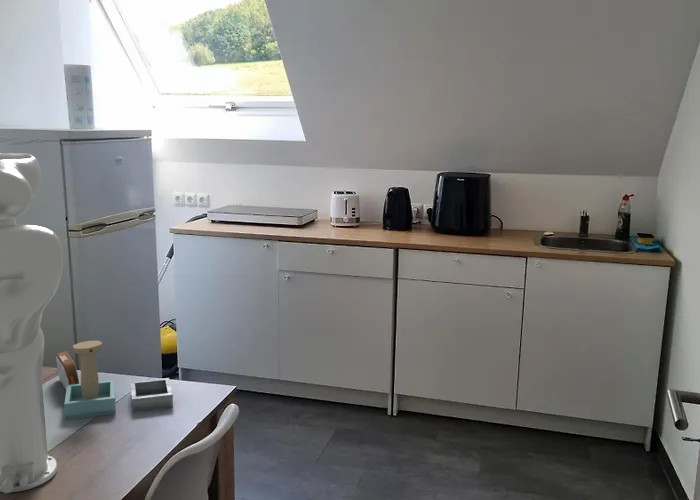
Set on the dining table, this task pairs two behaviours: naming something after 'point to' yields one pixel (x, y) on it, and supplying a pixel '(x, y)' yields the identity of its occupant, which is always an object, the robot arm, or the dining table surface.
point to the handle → (88, 367)
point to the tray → (90, 401)
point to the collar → (152, 400)
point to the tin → (66, 369)
